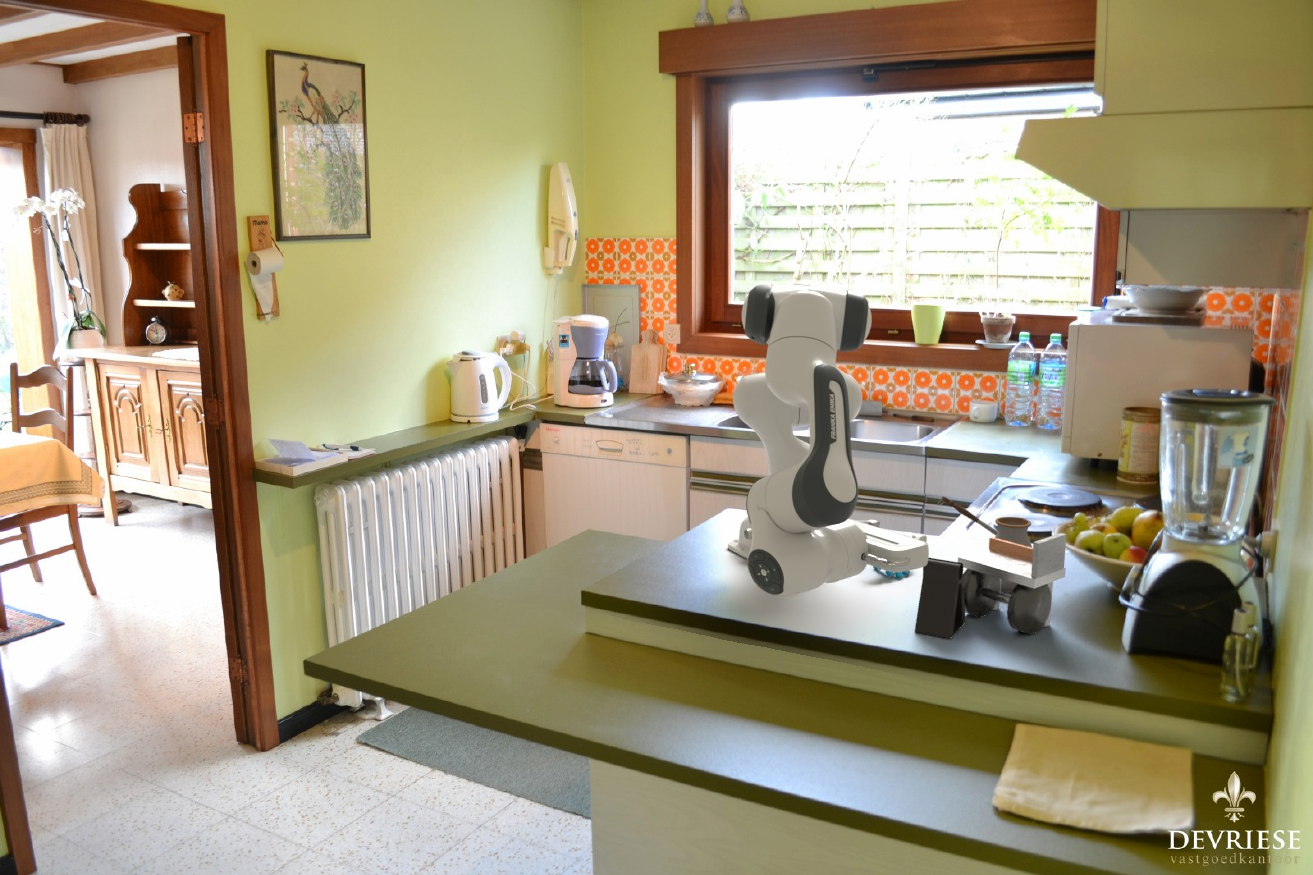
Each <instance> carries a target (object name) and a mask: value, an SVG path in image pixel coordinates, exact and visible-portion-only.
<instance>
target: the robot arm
mask: <svg viewBox="0 0 1313 875" xmlns="http://www.w3.org/2000/svg"><path fill="white" fill-rule="evenodd" d="M741 321H742V322H741V324H742V326H743V329H744V334H745V336H746V337H747V338H748V339H749V341H752V342H754V343H756V344H759V345H763V346H766V345H767V351H766V357H765V358H766V359H765V365H764V366H765V367H764V372H759V373H754V374H753V373H752V374H750V375H749V374H748V375H745V376H743V377H741V378H740V380H739V381H738V383H737V384H736V386H735V388H734V391H733V395H732V399H733V400H732V401H733V402H732V403H733V408H734V411H735V413H736V414H737V417H738V418H739V419H740V420H741V421H742V422H743V423H744V424H746V425H747V426H748V427H750V428H751V429H752V430H753V431H754V432H755V434H756V435H757V436H758V437H759V439H760V441H761V442H762V445H763V447H764V449H765V452H766V456H767V465H768V466H767V467H768V475H767V476H765V477H763V478H760V479H757V480H756V481H754V483H752V485H751V486H750V487H749V489H748V492H747V495H746V501H745V504H746V505H745V507H746V508H745V509H746V513H747V517H746V518H744V519H743V520H742V522H741V523H740V527H739V534H738V538H735V539H734V540H731V541H729V543H728V544H727V549H729V550H730V551H732V552H734V553H736V554H738V555H740V556H741V557H743V558H745V559H746V560H747V568H748V572H749V576H750V577H751V579H752V581H753V582H754V583H755V585H756V586H758V587H759V588H760V589H761V591H763V592H765V593H767V594H769V595H773V596H780V597H782V596H783V597H785V596H792V595H797V594H801V593H805V592H809V591H811V590H815V589H818V588H819V587H821V586H822V585H823V584H832V583H837V582H839V581H843V580H846V579H849V578H851V577H855V576H858V575H859V574H861V573H863V572H864V571H865V569H866V567H867V565H869V566H871V567H873V566H874V567H877V568H880V569H881V570H883V571H885V572H886V571H889V572H893V573H896V572H904V571H913V570H917V569H918V570H919V569H922V568H923V567H924V566H926V565H927V563H928V558H930V553H929V552H930V551H929V550H930V549H929V544H928V542H927V541H928V540H927V537H928V536H927V535H926V534H923V533H915V534H911V536H907V535H904V534H901V533H897V532H895V531H891V530H888V529H884V528H881V527H880V525H881V522H880V521H878V520H875V519H867V520H856V519H851V518H850V517H852V515H853V513H854V512H855V509H856V507H857V503H858V498H859V486H858V485H859V484H858V479H857V475H856V471H855V468H854V463H853V455H852V438H851V422H853V421H854V420H855V419H856V417H857V416H858V415H859V414H860V411H861V408H862V405H863V393H862V389H861V386H860V384H859V383H858V381H857V380H856V379H855V377H853V376H852V375H851V374H848V373H846V372H844V371H843V370H842V369H840V368H839V367H838V366H837V352H838V351H839V352H840V353H843V352H845V353H846V352H847V353H848V352H855V351H858V350H859V349H860V348H861V347H862V346H864V342H865V341H866V339H867V338H868V336H869V334H870V330H871V329H872V312H871V308H870V306H869V301H868V299H867V298H866V297H865V296H864V295H863V294H861V293H859V292H856V291H853V290H849V289H847V290H846V291H844V290H840V289H836V288H831V287H827V286H825V284H823V283H820V282H818V281H815V280H808V279H807V280H802V281H801V280H800V281H797V282H794V283H793V284H786V285H785V284H784V285H783V284H782V285H781V284H780V285H773V284H772V283H766V284H765V283H764V284H758V285H755V286H754V287H752V289H751V290H749V292H748V295H747V296H746V298H745V300H744V303H743V304H742V309H741ZM795 427H809V443H808V442H806V441H804V440H802V439H799V438H798V437H797V436H795V434H794V428H795Z"/></svg>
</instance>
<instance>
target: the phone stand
mask: <svg viewBox="0 0 1313 875" xmlns="http://www.w3.org/2000/svg"><path fill="white" fill-rule="evenodd" d="M963 574H964V567H963V563H959V562H958V561H952V560H945V559H940V558H935V557H933V558H932V557H928V563H927V565H926V566H924V567H922V581H921V586H920V588H921V589H920V593H919V601H918V606H917V613H916V621H915V628H914V633H916V634H922V635H924V636H925V635H927V636H931V637H935V636H937V637H936V638H940V637H941V638H940V639H945V638H946V640H949V639H950V638H951V637H952V636H953V635H954V634H955V633H956V632H957V633H958V632H959V631H960V629H961V628H963V626H964V625H965V624H966V623H967V622H966V620H967V619H966V613H965V604H964V589H963ZM964 623H965V624H964ZM963 624H964V625H963ZM962 625H963V626H962ZM960 627H961V628H960ZM959 628H960V629H959ZM957 633H956V634H957ZM956 634H955V635H956ZM955 635H954V636H955ZM954 636H953V637H954ZM953 637H952V638H953ZM952 638H951V639H952ZM951 639H950V640H951Z"/></svg>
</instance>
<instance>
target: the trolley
mask: <svg viewBox="0 0 1313 875" xmlns="http://www.w3.org/2000/svg"><path fill="white" fill-rule="evenodd" d="M1032 544H1033V545H1032V547H1028V546H1024V545H1020V544H1016V543H1013V542H1009V541H1005V540H1001V539H997V538H995V537H994V536H991V537H989V540H988V547H985V548H982V549H979V550H976V551H973V552H970V553H969V552H968V553H966V554H962V555H960V556H957V562H959V563H963V569H964V568H965V570H964V571H963V589H964V604H965V614H969V615H972V616H974V617H976V618H977V617H978V618H983V617H985V616H984V615H986V616H987V615H989V614H990V613H991V611H993V610H995V611H997V610H996V609H998V610H1000V604H1001V603H1002V604H1005V605H1007V609H1006V616H1007V617H1006V618H1007V621H1008V624H1009V626H1010V627H1011V629H1013V630H1016V631H1018V632H1022V633H1025V634H1028V635H1034V634H1033V633H1035V632H1037V633H1038V632H1039V631H1040V630H1042V628H1044V627H1045V628H1047V627H1049V625H1050V626H1051V616H1052V615H1051V614H1052V602H1053V601H1052V600H1053V588H1054V586H1053V585H1054V582H1056V581H1058V580H1061V579H1064V578H1065V577H1066V567H1065V560H1066V559H1065V558H1066V545H1067V534H1066V533H1063V532H1061V533H1056V534H1053V535H1050V536H1047V537H1044V538H1041V539H1038V540H1035V541H1033V542H1032ZM1001 579H1004V580H1007V581H1010V582H1014V583H1017V585H1016V586H1015V588H1014V589H1013V591H1012V593H1010V594H1008V593H1006V592H1002V591H1000V590H1001ZM982 616H983V617H982ZM1035 634H1036V633H1035Z"/></svg>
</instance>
